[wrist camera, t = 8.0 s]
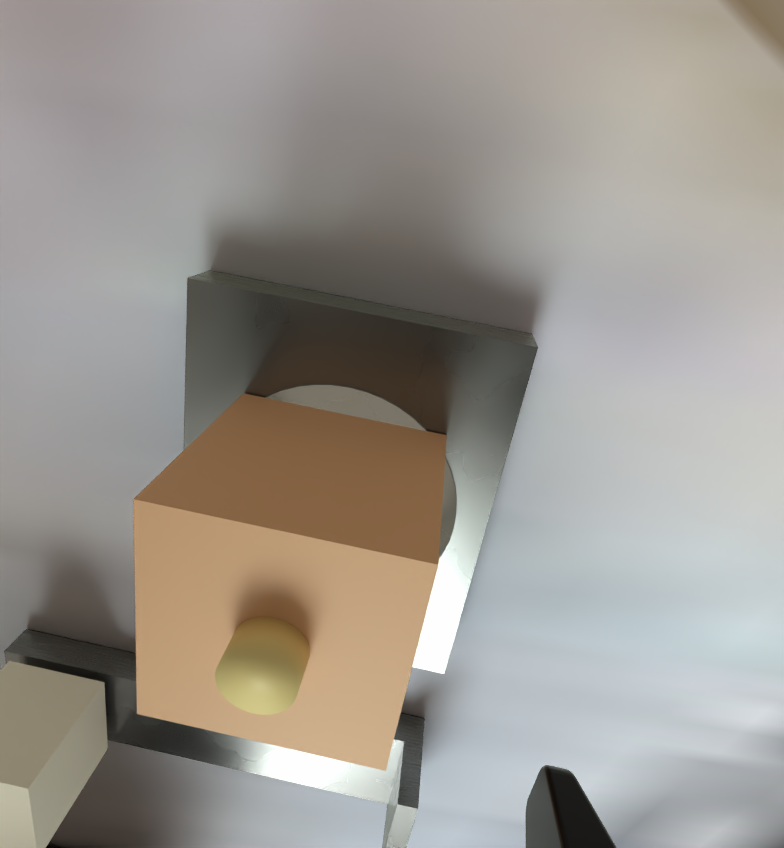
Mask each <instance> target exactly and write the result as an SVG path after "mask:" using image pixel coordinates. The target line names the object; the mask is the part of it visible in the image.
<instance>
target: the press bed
mask: <svg viewBox="0 0 784 848" xmlns="http://www.w3.org/2000/svg"><path fill="white" fill-rule="evenodd" d="M537 349H538V346H537V344H536V342H535V340H534V338H533V335H532V334H529V333H524V332H519V331H514V330H509V329H504V328H499V327H494V326H489V325H484V324H478V323H473V322H468V321H463V320H458V319H453V318H448V317H443V316H438V315H433V314H428V313H423V312H418V311H413V310H408V309H402V308H397V307H392V306H387V305H382V304H377V303H372V302H367V301H362V300H357V299H352V298H347V297H342V296H337V295H332V294H326V293H321V292H316V291H311V290H306V289H301V288H296V287H291V286H286V285H281V284H276V283H271V282H266V281H261V280H256V279H250V278H245V277H240V276H235V275H230V274H225V273H220V272H215V271H210V270H209V271H206V272H203V273H200V274H198V275H195V276H192V277H189V278H188V282H187V326H186V369H185V412H184V450H185V449H186V448H187V447H188V446H189V445H190V444H191V443H192V442H193V441H194V440H195V439H196V438H197V437H198V436H199V435H201V434H202V433H203V432H204V431H205V430H206V429H207V428H208V427H209V426H210V425H211V424H212V423H213V422H214V421H215V420H216V419H217V418H218V417H219V416H220V415H221V414H222V413H223V412H224V411H225V410H226V409H227V408H229V407H230V406H231V405H232V404H233V403H234V402H235V401H236V400H237V399H238V398H239V397H240V396H241V395H242V394H243V393H245V394H250V395H254V396H259V397H264V398H268V399H273V400H278V401H283V402H288V403H293V404H297V405H302V406H307V407H312V408H317V409H322V410H326V411H331V412H336V413H341V414H346V415H351V416H355V417H360V418H365V419H370V420H375V421H380V422H384V423H389V424H394V425H399V426H404V427H409V428H413V429H418V430H423V431H429V432H433V433H438V434H443V435H447V439H446V455H445V470H444V486H443V502H442V517H441V533H440V549H439V564H438V569H437V572H436V576H435V580H434V584H433V588H432V592H431V596H430V600H429V604H428V608H427V612H426V615H425V619H424V623H423V627H422V631H421V635H420V639H419V643H418V647H417V651H416V655H415V658H414V662H413V666H412V667H415V668H420V669H424V670H429V671H433V672H438V673H442V674H444V673H445V670H446V666H447V663H448V659H449V656H450V652H451V649H452V645H453V642H454V638H455V635H456V631H457V628H458V624H459V621H460V617H461V614H462V610H463V607H464V603H465V600H466V597H467V593H468V590H469V586H470V583H471V579H472V576H473V572H474V569H475V565H476V562H477V558H478V555H479V551H480V548H481V544H482V541H483V537H484V534H485V530H486V527H487V523H488V520H489V516H490V513H491V509H492V506H493V502H494V499H495V495H496V492H497V488H498V485H499V481H500V478H501V474H502V471H503V467H504V464H505V460H506V457H507V453H508V450H509V447H510V443H511V440H512V436H513V433H514V429H515V426H516V422H517V419H518V415H519V412H520V408H521V405H522V401H523V398H524V394H525V391H526V387H527V384H528V380H529V377H530V373H531V370H532V366H533V363H534V359H535V356H536V352H537Z"/></svg>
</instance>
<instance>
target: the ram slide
mask: <svg viewBox="0 0 784 848" xmlns="http://www.w3.org/2000/svg"><path fill="white" fill-rule="evenodd" d="M107 749H108V743H107V723H106V703H105V683H104V682H101V681H96V680H92V679H88V678H83V677H79V676H74V675H70V674H66V673H61V672H57V671H52V670H48V669H44V668H39V667H35V666H30V665H26V664H21V663H17V662H13V661H9V662H8V663H7V664H6V665H5V666H4V667H3V668H2V669H1V670H0V848H46V847H47V845H48V843H49V842H50V840H51V839H52V837H53V835H54V834H55V832H56V831H57V829H58V827H59V826H60V824H61V823H62V821H63V819H64V818H65V816H66V815H67V813H68V811H69V810H70V808H71V807H72V805H73V803H74V802H75V800H76V799H77V797H78V795H79V794H80V792H81V791H82V789H83V788H84V786H85V784H86V783H87V781H88V780H89V778H90V776H91V775H92V773H93V772H94V770H95V768H96V767H97V765H98V764H99V762H100V760H101V759H102V757H103V756H104V754H105V752H106V751H107Z"/></svg>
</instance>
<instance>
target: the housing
mask: <svg viewBox="0 0 784 848" xmlns="http://www.w3.org/2000/svg"><path fill="white" fill-rule="evenodd" d="M446 439H447V435H443V434H438V433H433V432H429V431H423V430H418V429H413V428H409V427H404V426H399V425H394V424H389V423H384V422H380V421H375V420H370V419H365V418H360V417H355V416H351V415H346V414H341V413H336V412H331V411H326V410H322V409H317V408H312V407H307V406H302V405H297V404H293V403H288V402H283V401H278V400H273V399H268V398H264V397H259V396H254V395H250V394H245V393H243V394H242V395H241V396H240V397H239V398H238V399H237V400H236V401H235V402H234V403H233V404H232V405H231V406H230V407H229V408H227V409H226V410H225V411H224V412H223V413H222V414H221V415H220V416H219V417H218V418H217V419H216V420H215V421H214V422H213V423H212V424H211V425H210V426H209V427H208V428H207V429H206V430H205V431H204V432H203V433H202V434H201V435H199V436H198V437H197V438H196V439H195V440H194V441H193V442H192V443H191V444H190V445H189V446H188V447H187V448H186V449H185V450H184V451H183V452H182V453H181V454H180V455H179V456H178V457H177V458H176V459H175V460H174V461H172V462H171V463H170V464H169V465H168V466H167V467H166V468H165V469H164V470H163V471H162V472H161V473H160V474H159V475H158V476H157V477H156V478H155V479H154V480H153V481H152V482H151V483H150V484H149V485H148V486H147V487H146V488H144V489H143V490H142V491H141V492H140V493H139V494H138V495H137V496H136V497H135V498H134V499H133V505H134V565H135V625H136V686H137V714H140V715H144V716H148V717H153V718H157V719H161V720H166V721H170V722H175V723H179V724H183V725H188V726H192V727H196V728H201V729H205V730H209V731H214V732H218V733H223V734H227V735H231V736H236V737H240V738H244V739H249V740H253V741H257V742H262V743H266V744H270V745H275V746H279V747H284V748H288V749H292V750H297V751H301V752H305V753H310V754H314V755H318V756H323V757H327V758H332V759H336V760H340V761H345V762H349V763H353V764H358V765H362V766H366V767H371V768H375V769H380V770H384V771H386V768H387V764H388V760H389V756H390V752H391V748H392V744H393V741H394V737H395V733H396V729H397V725H398V721H399V717H400V713H401V709H402V705H403V701H404V698H405V694H406V690H407V686H408V682H409V678H410V674H411V670H412V666H413V662H414V658H415V655H416V651H417V647H418V643H419V639H420V635H421V631H422V627H423V623H424V619H425V615H426V612H427V608H428V604H429V600H430V596H431V592H432V588H433V584H434V580H435V576H436V572H437V569H438V564H439V549H440V533H441V517H442V502H443V486H444V470H445V455H446Z"/></svg>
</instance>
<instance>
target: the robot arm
mask: <svg viewBox="0 0 784 848" xmlns="http://www.w3.org/2000/svg"><path fill="white" fill-rule="evenodd" d="M526 848H616V846H615V844H614V843H613V841H612V839H611V837H610V836H609V834H608V832H607V830H606V829H605V827H604V825H603V824H602V822H601V820H600V818H599V817H598V815H597V813H596V812H595V810H594V808H593V806H592V805H591V803H590V801H589V800H588V798H587V796H586V794H585V793H584V791H583V789H582V788H581V786H580V784H579V782H578V781H577V779H576V777H575V776H574V775H573V773H571V772H570V771H569V770H567V769H563V768H558V767H554V766H549V765H545V766H543V767H542V768H541V770H540V772H539V774H538V776H537V779H536V781H535V783H534V786H533V788H532V791H531V793H530V795H529V798H528V801H527V806H526Z"/></svg>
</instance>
